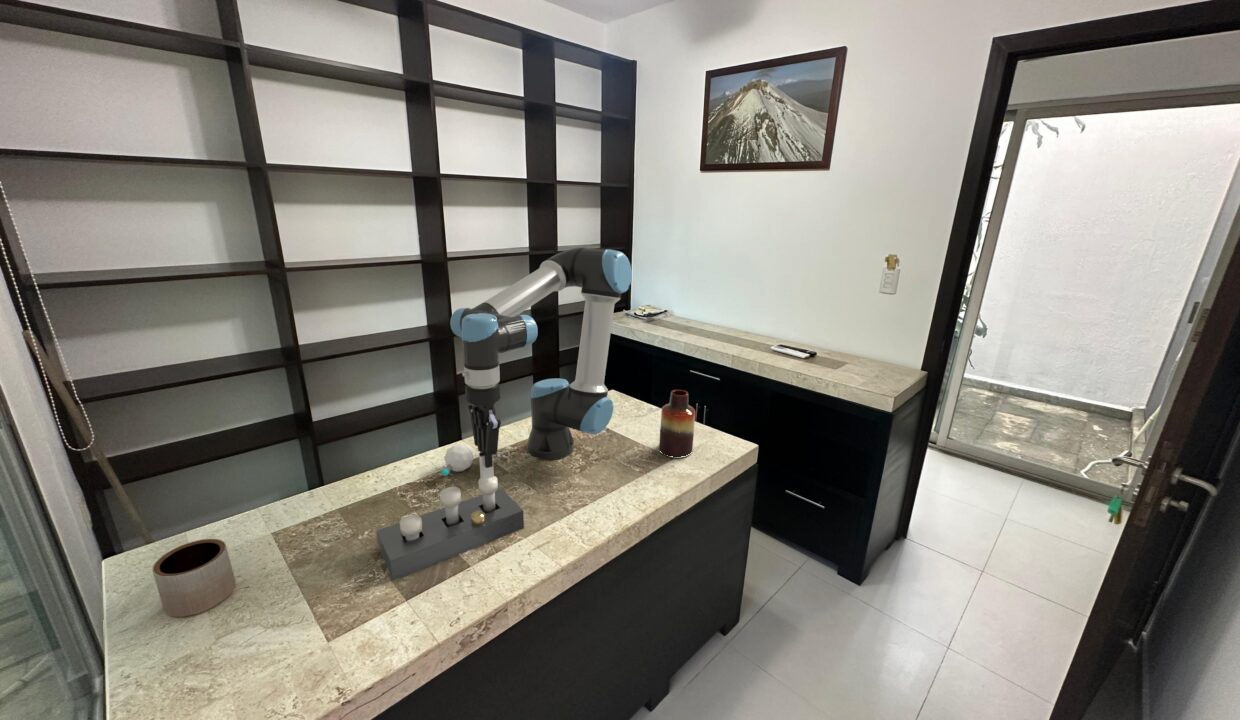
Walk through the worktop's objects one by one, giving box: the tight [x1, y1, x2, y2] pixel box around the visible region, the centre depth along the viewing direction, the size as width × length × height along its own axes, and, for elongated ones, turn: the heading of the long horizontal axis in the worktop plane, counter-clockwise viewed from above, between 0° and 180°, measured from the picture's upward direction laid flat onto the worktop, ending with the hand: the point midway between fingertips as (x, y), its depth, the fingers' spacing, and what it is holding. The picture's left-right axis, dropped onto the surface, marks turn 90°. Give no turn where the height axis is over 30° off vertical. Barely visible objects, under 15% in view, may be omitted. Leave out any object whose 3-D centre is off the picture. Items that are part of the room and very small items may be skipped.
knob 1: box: [399, 514, 422, 542], centre depth 108 cm, size 4×4×8 cm
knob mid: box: [439, 486, 462, 526], centre depth 112 cm, size 4×4×8 cm
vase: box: [658, 389, 696, 457], centre depth 157 cm, size 11×11×20 cm
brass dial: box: [471, 511, 485, 526], centre depth 112 cm, size 3×3×2 cm
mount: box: [376, 488, 525, 581], centre depth 114 cm, size 30×12×5 cm, turn 128°
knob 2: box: [477, 475, 499, 512], centre depth 117 cm, size 4×4×8 cm
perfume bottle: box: [441, 443, 474, 477], centre depth 142 cm, size 8×8×12 cm
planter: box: [152, 538, 236, 618], centre depth 94 cm, size 11×11×10 cm
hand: (487, 476), depth 116 cm, fingers closed
